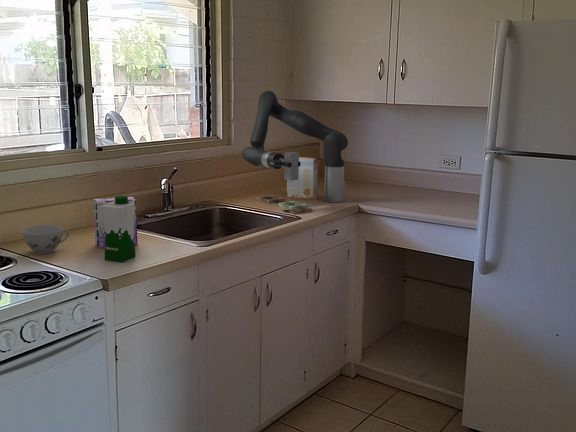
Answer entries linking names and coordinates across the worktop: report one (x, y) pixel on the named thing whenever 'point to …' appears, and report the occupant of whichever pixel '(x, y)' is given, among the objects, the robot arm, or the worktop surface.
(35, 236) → the teacup
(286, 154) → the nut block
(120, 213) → the milk carton
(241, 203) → the worktop surface
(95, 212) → the candy box
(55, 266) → the worktop surface
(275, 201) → the olive flat piece
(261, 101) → the robot arm
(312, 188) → the cracker box
